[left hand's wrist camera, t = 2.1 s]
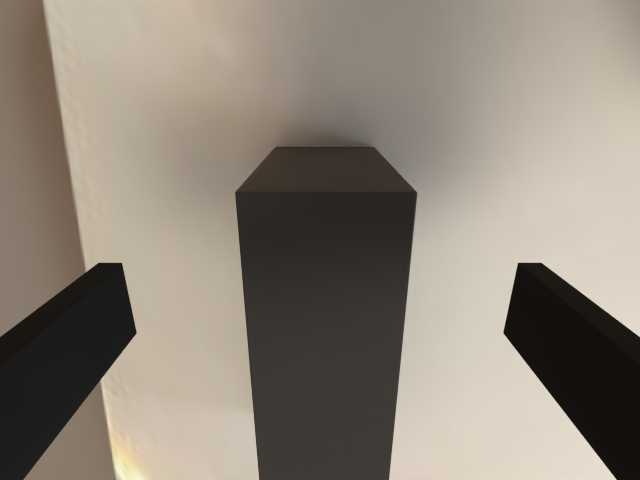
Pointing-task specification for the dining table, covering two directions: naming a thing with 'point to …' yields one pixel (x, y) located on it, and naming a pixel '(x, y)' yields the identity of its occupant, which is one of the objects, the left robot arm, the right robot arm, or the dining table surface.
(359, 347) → the box
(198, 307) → the dining table surface
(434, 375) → the dining table surface
